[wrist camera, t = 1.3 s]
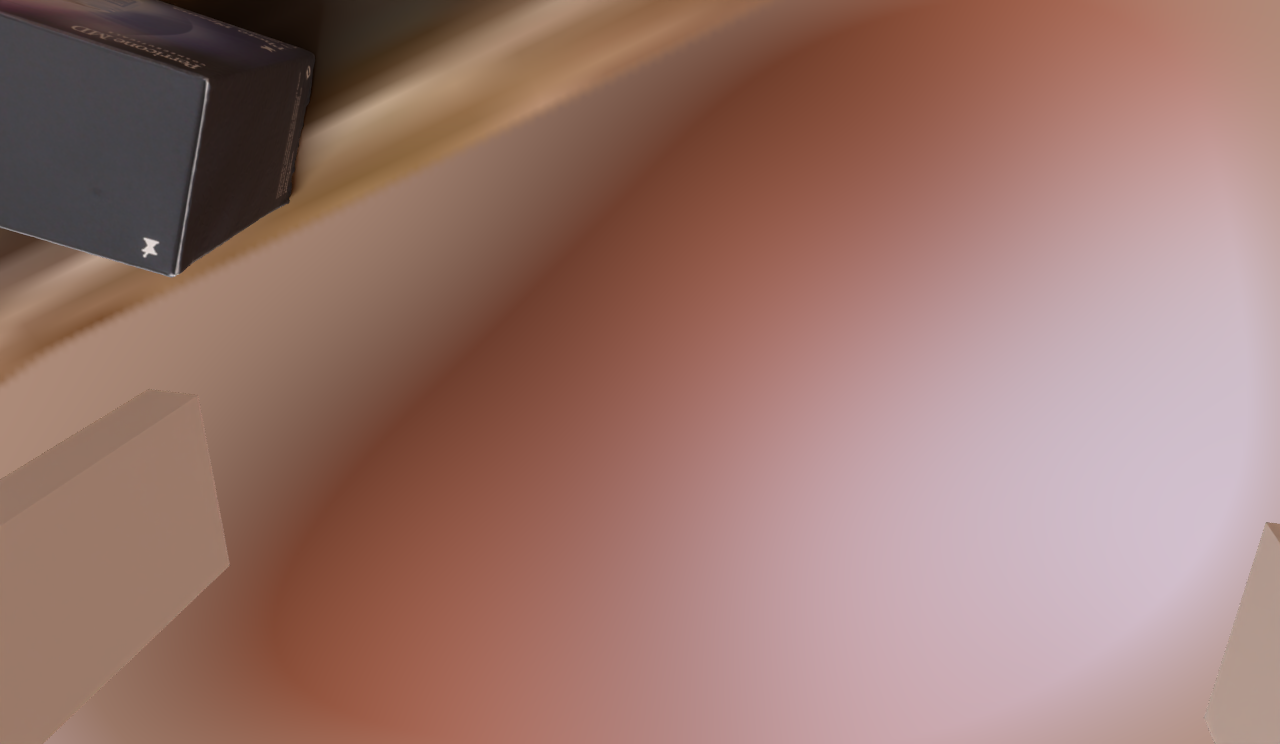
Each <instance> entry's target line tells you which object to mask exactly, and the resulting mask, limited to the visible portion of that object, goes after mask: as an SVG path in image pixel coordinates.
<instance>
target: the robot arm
mask: <svg viewBox="0 0 1280 744" xmlns="http://www.w3.org/2000/svg"><path fill="white" fill-rule="evenodd" d="M229 565H230V564H229V558H228V553H227V548H226V542H225V537H224V531H223V526H222V521H221V516H220V510H219V505H218V499H217V494H216V488H215V483H214V478H213V473H212V467H211V461H210V456H209V451H208V446H207V440H206V435H205V430H204V424H203V419H202V414H201V408H200V402H199V397H198V395H194V394H186V393H177V392H169V391H160V390H152V389H148V390H146V391H145V392H143V393H141V394H140V395H138V396H136V397H135V398H133V399H131V400H130V401H128V402H127V403H125V404H123V405H122V406H120V407H119V408H117V409H115V410H113V411H112V412H110V413H109V414H107V415H105V416H104V417H102V418H100V419H99V420H97V421H95V422H94V423H92V424H90V425H89V426H87V427H85V428H84V429H82V430H81V431H79V432H77V433H76V434H74V435H72V436H71V437H69V438H67V439H66V440H64V441H63V442H61V443H59V444H58V445H56V446H54V447H53V448H51V449H49V450H48V451H46V452H44V453H43V454H41V455H40V456H38V457H36V458H35V459H33V460H31V461H30V462H28V463H27V464H25V465H23V466H22V467H20V468H18V469H17V470H15V471H13V472H12V473H10V474H8V475H7V476H5V477H4V478H2V479H0V744H43V743H44V742H45V741H46V740H47V739H48V738H50V737H51V736H52V735H53V734H54V733H55V732H56V731H57V730H58V729H59V728H60V727H61V726H62V725H63V724H64V723H65V722H66V721H67V720H68V719H69V718H70V717H71V716H73V714H75V713H76V712H77V711H78V710H79V709H80V708H81V707H82V706H83V705H84V704H85V703H86V702H87V701H88V700H89V699H90V698H91V697H92V696H93V695H95V694H96V693H97V692H98V691H99V690H100V689H101V688H102V687H103V686H104V685H105V684H106V683H107V682H108V681H109V680H110V679H111V678H112V677H113V676H114V675H115V674H116V673H117V672H118V671H120V670H121V669H122V668H123V667H124V666H125V665H126V664H127V663H128V662H129V661H130V660H131V659H132V658H133V657H134V656H135V655H136V654H137V653H138V652H139V651H140V650H142V649H143V648H144V647H145V646H146V645H147V644H148V643H149V642H150V641H151V640H152V639H153V638H154V637H155V636H156V635H157V634H158V633H159V632H160V631H161V630H162V629H164V628H165V627H166V626H167V625H168V624H169V623H170V622H171V621H172V620H173V619H174V618H175V617H176V616H177V615H178V614H179V613H180V612H181V611H182V610H183V609H184V608H185V607H186V606H188V605H189V604H190V603H191V602H192V601H193V600H194V599H195V598H196V597H197V596H198V595H199V594H200V593H201V592H202V591H203V590H204V589H205V588H206V587H208V585H210V584H211V583H212V582H213V581H214V580H215V579H216V578H217V577H218V576H219V575H220V574H221V573H222V572H223V571H224V570H225V569H226V568H227V567H228V566H229ZM1204 719H1205V721H1206V724H1207V726H1208V729H1209V731H1210V733H1211V736H1212V738H1213V741H1214V743H1215V744H1280V524H1277V523H1268V522H1266V524H1265V527H1264V530H1263V533H1262V537H1261V540H1260V543H1259V546H1258V549H1257V552H1256V555H1255V559H1254V562H1253V565H1252V568H1251V571H1250V574H1249V578H1248V581H1247V584H1246V587H1245V590H1244V593H1243V596H1242V599H1241V603H1240V606H1239V609H1238V612H1237V615H1236V619H1235V622H1234V625H1233V628H1232V631H1231V634H1230V637H1229V641H1228V644H1227V647H1226V650H1225V653H1224V656H1223V660H1222V662H1221V666H1220V669H1219V672H1218V675H1217V678H1216V682H1215V685H1214V688H1213V691H1212V694H1211V697H1210V700H1209V703H1208V707H1207V710H1206V713H1205V716H1204Z"/></svg>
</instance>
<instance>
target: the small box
mask: <svg viewBox="0 0 1280 744" xmlns="http://www.w3.org/2000/svg"><path fill="white" fill-rule="evenodd" d="M314 63H315V56H314V54H313V53H311V52H310V51H307V50H305V49H302V48H300V47H297V46H294V45H291V44H288V43H284V42H281V41H278V40H275V39H272V38H269V37H266V36H263V35H260V34H257V33H254V32H251V31H248V30H245V29H242V28H240V27H237V26H234V25H231V24H228V23H225V22H222V21H219V20H216V19H213V18H210V17H207V16H204V15H201V14H198V13H195V12H192V11H189V10H186V9H183V8H180V7H177V6H174V5H171V4H168V3H165V2H162V1H160V0H0V227H1V228H4V229H8V230H11V231H15V232H18V233H21V234H25V235H28V236H32V237H36V238H39V239H42V240H46V241H49V242H52V243H55V244H59V245H62V246H65V247H69V248H73V249H76V250H79V251H83V252H86V253H89V254H92V255H96V256H99V257H103V258H106V259H110V260H113V261H117V262H120V263H124V264H127V265H130V266H135V267H138V268H141V269H145V270H148V271H151V272H155V273H158V274H161V275H165V276H168V277H174V276H176V275H178V274H180V273H182V272H183V271H184V270H185V269H186V268H187V267H188V266H190V265H191V264H192V263H193V262H195V261H196V260H198V259H200V258H202V257H203V256H204V255H206V254H208V253H209V252H211V251H212V250H214V249H215V248H216V247H218V246H220V245H222V244H223V243H224V242H226V241H228V240H229V239H230V238H232V237H233V236H234V235H236V234H238V233H239V232H241V231H242V230H244V229H245V228H247V227H248V226H250V225H251V224H253V223H254V222H256V221H257V220H259V219H260V218H262V217H264V216H265V215H267V214H269V213H271V212H272V211H274V210H276V209H278V208H280V207H282V206H284V205H285V204H288V203H289V201H290V200H289V197H290V195H291V188H292V182H291V179H292V174H293V173H294V171H295V166H294V165H295V160H296V155H297V148H298V147H299V139H300V134H301V129H302V127H303V125H304V123H303V121H304V115H305V111H306V106H307V105H308V104H309V101H310V94H311V87H312V77H313V68H314Z"/></svg>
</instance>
